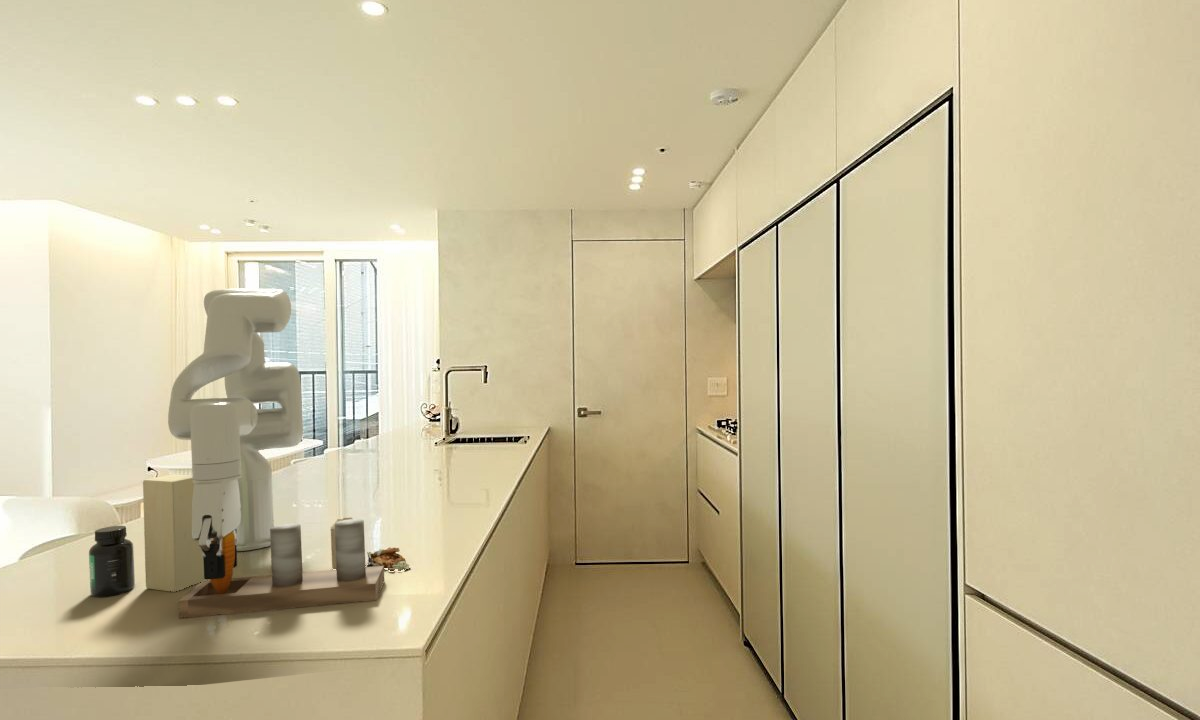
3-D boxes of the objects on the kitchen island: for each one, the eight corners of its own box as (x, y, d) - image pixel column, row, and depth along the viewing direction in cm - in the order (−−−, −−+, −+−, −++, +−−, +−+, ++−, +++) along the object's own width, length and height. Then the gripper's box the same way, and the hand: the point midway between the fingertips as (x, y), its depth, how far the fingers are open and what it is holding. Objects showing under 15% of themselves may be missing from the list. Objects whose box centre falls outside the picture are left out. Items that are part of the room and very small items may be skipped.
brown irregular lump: (395, 577, 131) (394, 559, 131) (358, 567, 138) (357, 550, 137) (422, 567, 137) (422, 550, 136) (385, 558, 143) (385, 541, 143)
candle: (351, 572, 133) (349, 522, 133) (326, 571, 134) (324, 522, 134) (365, 563, 139) (364, 515, 138) (342, 562, 140) (340, 515, 140)
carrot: (214, 591, 120) (211, 509, 120) (243, 589, 120) (239, 507, 120) (200, 601, 115) (196, 516, 115) (230, 599, 115) (226, 514, 115)
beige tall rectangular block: (210, 579, 131) (206, 474, 131) (175, 592, 124) (171, 481, 124) (180, 576, 134) (176, 472, 134) (145, 588, 127) (140, 480, 127)
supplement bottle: (86, 600, 122) (84, 535, 122) (94, 589, 128) (92, 527, 128) (131, 593, 125) (129, 530, 125) (137, 582, 131) (135, 522, 131)
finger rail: (203, 596, 122) (200, 526, 122) (384, 581, 127) (381, 513, 127) (178, 618, 112) (175, 542, 112) (375, 600, 117) (373, 527, 117)
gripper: (213, 464, 125) (217, 560, 125) (171, 482, 108) (176, 592, 109) (256, 462, 126) (259, 556, 127) (221, 479, 110) (225, 588, 110)
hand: (221, 572), depth 118 cm, fingers closed on carrot, 4 cm apart
